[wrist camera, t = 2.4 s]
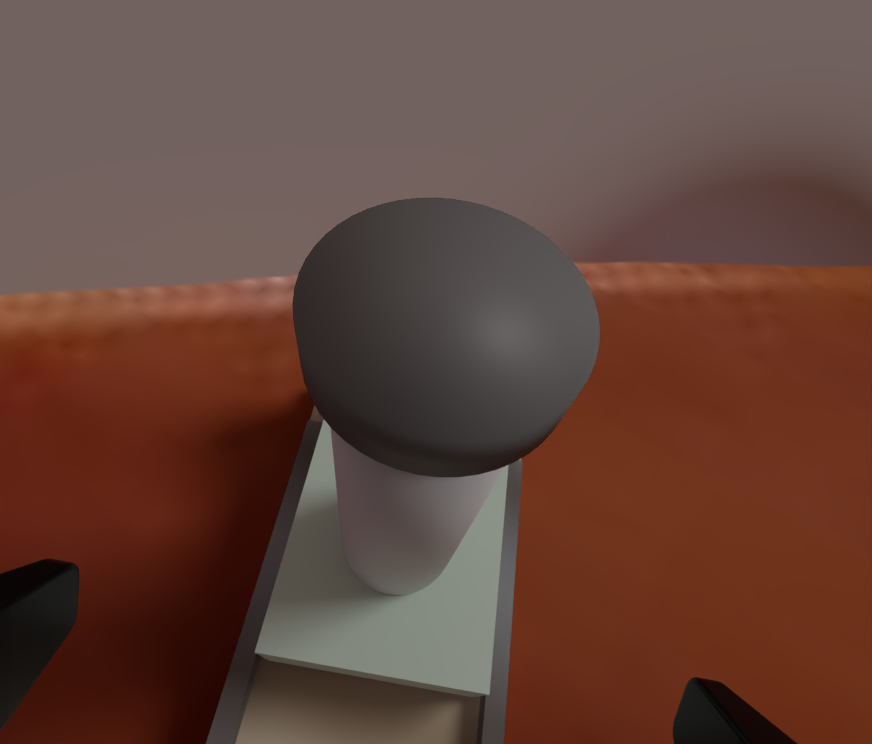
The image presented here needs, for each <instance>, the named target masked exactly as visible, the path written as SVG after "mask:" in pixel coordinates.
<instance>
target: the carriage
mask: <svg viewBox="0 0 872 744" xmlns="http://www.w3.org/2000/svg"><path fill="white" fill-rule="evenodd" d="M293 321H294V327H295V333H296V339H297V345H298V351H299V357H300V363H301V369H302V373H303V378H304V382H305V385H306V388H307V390H308V393H309V395H310V398H311V400H312V401H313V403H314V405H315V407H316V408H317V410H318V412H319V413H320V415H321V416H322V417H323V419H324V420H323V424H322V427H321V430H320V434H319V437H318V441H317V444H316V447H315V451H314V454H313V457H312V461H311V464H310V467H309V471H308V474H307V477H306V481H305V484H304V488H303V491H302V494H301V498H300V501H299V504H298V508H297V511H296V514H295V518H294V521H293V525H292V528H291V531H290V535H289V538H288V541H287V545H286V548H285V551H284V555H283V558H282V562H281V565H280V568H279V572H278V575H277V578H276V582H275V585H274V588H273V592H272V595H271V598H270V602H269V605H268V609H267V612H266V615H265V619H264V622H263V625H262V629H261V632H260V635H259V639H258V642H257V646H256V649H255V653H256V654H258V655H260V656H262V657H263V658H265V659H267V660H268V661H274V662H279V663H285V664H290V665H296V666H301V667H307V668H312V669H318V670H323V671H329V672H334V673H340V674H345V675H351V676H356V677H362V678H367V679H373V680H379V681H384V682H390V683H395V684H401V685H406V686H412V687H417V688H423V689H428V690H434V691H439V692H445V693H450V694H456V695H461V696H467V697H478V696H485V695H489V694H490V682H491V670H492V658H493V646H494V634H495V622H496V610H497V598H498V586H499V574H500V562H501V550H502V538H503V526H504V513H505V501H506V489H507V477H508V465H509V464H512V463H514V462H516V461H517V460H519V459H521V458H522V457H524V456H526V455H528V454H529V453H530V452H532V451H533V450H534V449H535V448H537V447H538V446H539V445H540V444H541V443H543V441H544V440H545V439H546V438H547V437H548V436H549V435H550V434H551V433H552V431H553V430H554V429H555V427H556V426H557V424H558V423H559V422H560V420H561V419H562V417H563V416H564V414H565V413H566V411H567V410H568V408H569V407H570V406H571V404H572V403H573V401H574V400H575V398H576V397H577V395H578V394H579V392H580V391H581V389H582V388H583V386H584V385H585V383H586V382H587V380H588V378H589V376H590V374H591V372H592V369H593V367H594V365H595V362H596V357H597V353H598V349H599V337H600V328H599V318H598V313H597V309H596V305H595V301H594V299H593V296H592V294H591V291H590V289H589V286H588V285H587V283H586V281H585V279H584V278H583V276H582V274H581V273H580V271H579V270H578V269H577V267H576V266H575V265H574V263H573V262H572V261H571V259H570V258H569V257H568V256H567V255H566V254H565V253H564V252H563V251H562V250H561V249H560V248H559V247H558V246H557V245H556V244H555V243H554V242H552V241H551V240H550V239H549V238H548V237H546V236H545V235H543V234H542V233H541V232H539V231H537V230H536V229H535V228H534V227H532V226H530V225H528V224H527V223H525V222H523V221H521V220H519V219H518V218H516V217H513V216H511V215H508V214H506V213H504V212H502V211H499V210H496V209H493V208H490V207H488V206H484V205H480V204H476V203H472V202H468V201H461V200H455V199H444V198H414V199H405V200H398V201H394V202H389V203H385V204H381V205H378V206H375V207H372V208H369V209H366V210H364V211H362V212H360V213H357V214H355V215H353V216H351V217H350V218H348V219H346V220H345V221H343V222H341V223H340V224H338V225H337V226H336V227H334V228H333V229H332V230H331V231H329V232H328V233H327V234H326V235H325V236H324V237H323V238H322V239H321V240H320V241H319V242H318V243H317V244H316V245H315V247H314V248H313V249H312V251H311V252H310V254H309V255H308V256H307V258H306V259H305V262H304V264H303V266H302V268H301V270H300V272H299V274H298V278H297V281H296V285H295V288H294V296H293Z"/></svg>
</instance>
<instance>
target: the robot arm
mask: <svg viewBox="0 0 872 744" xmlns="http://www.w3.org/2000/svg"><path fill="white" fill-rule="evenodd" d="M78 591H79V569H78V567H77V565H75V564H74V563H71V562H66V561H60V560H55V559H44V560H40V561H37V562H34V563H31V564H28V565H25V566H22V567H19V568H16V569H13V570H10V571H7V572H4V573H1V574H0V731H1V729H2V728H3V727H4V725H5V724H6V722H7V721H8V720H9V718H10V717H11V715H12V714H13V713H14V711H15V710H16V708H17V707H18V705H19V704H20V703H21V701H22V700H23V698H24V697H25V695H26V694H27V693H28V691H29V690H30V688H31V687H32V685H33V684H34V683H35V681H36V680H37V678H38V677H39V675H40V674H41V673H42V671H43V670H44V668H45V667H46V665H47V664H48V663H49V661H50V660H51V658H52V657H53V655H54V654H55V653H56V651H57V650H58V648H59V647H60V645H61V644H62V642H63V641H64V640H65V638H66V637H67V635H68V634H69V632H70V631H71V629H72V627H73V625H74V623H75V620H76V616H77V610H78ZM673 739H674V744H797V743H796V742H795V741H793V740H792V739H791V738H790V737H788V736H787V735H786V734H785V733H783V732H782V731H781V730H780V729H779V728H777V727H776V726H775V725H774V724H772V723H771V722H770V721H769V720H767V719H766V718H765V717H764V716H762V715H761V714H760V713H759V712H758V711H756V710H755V709H754V708H753V707H751V706H750V705H749V704H748V703H746V702H745V701H744V700H743V699H741V698H740V697H739V696H738V695H736V694H735V693H734V692H733V691H732V690H730V689H729V688H728V687H727V686H725V685H724V684H723V683H721V682H718V681H714V680H708V679H703V678H697V677H695V678H692V679H690V680H689V681H688V683H687V685H686V687H685V690H684V693H683V696H682V699H681V702H680V705H679V708H678V710H677V713H676V716H675V719H674V723H673Z"/></svg>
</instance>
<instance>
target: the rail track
mask: <svg viewBox="0 0 872 744" xmlns="http://www.w3.org/2000/svg"><path fill="white" fill-rule="evenodd" d="M322 424H323V422H319V417H318V410H317V408H316V407H315V405H314V408H313V411H312V415H311V418H310V420H308V421H307V424H306V428H305V431H304V434H303V437H302V440H301V443H300V447H299V450H298V453H297V456H296V459H295V462H294V466H293V469H292V472H291V475H290V478H289V481H288V485H287V488H286V491H285V494H284V497H283V500H282V504H281V507H280V510H279V513H278V516H277V519H276V523H275V526H274V529H273V532H272V535H271V539H270V542H269V545H268V548H267V551H266V554H265V558H264V561H263V564H262V567H261V570H260V573H259V577H258V580H257V583H256V586H255V589H254V592H253V596H252V599H251V602H250V605H249V608H248V611H247V615H246V618H245V621H244V624H243V627H242V630H241V634H240V637H239V640H238V643H237V646H236V649H235V653H234V656H233V659H232V662H231V665H230V669H229V672H228V675H227V678H226V681H225V684H224V688H223V691H222V694H221V697H220V700H219V703H218V707H217V710H216V713H215V716H214V719H213V722H212V726H211V729H210V732H209V735H208V738H207V741H206V744H503V743H504V729H505V714H506V699H507V685H508V670H509V655H510V640H511V626H512V611H513V596H514V582H515V567H516V552H517V538H518V523H519V508H520V494H521V479H522V464H523V460H521V459H519V460H517V461H516V462H514V463H512V464H509V465H508V477H507V489H506V501H505V513H504V526H503V538H502V550H501V562H500V574H499V586H498V598H497V610H496V622H495V634H494V646H493V658H492V670H491V682H490V694H489V695H485V696H478V697H467V696H461V695H456V694H450V693H445V692H439V691H434V690H428V689H423V688H417V687H412V686H406V685H401V684H395V683H390V682H384V681H379V680H373V679H367V678H362V677H356V676H351V675H345V674H340V673H334V672H329V671H323V670H318V669H312V668H307V667H301V666H296V665H290V664H285V663H279V662H274V661H268V660H267V659H265V658H263V657H262V656H260V655H258V654H256V653H255V649H256V646H257V642H258V639H259V635H260V632H261V629H262V625H263V622H264V619H265V615H266V612H267V609H268V605H269V602H270V598H271V595H272V592H273V588H274V585H275V582H276V578H277V575H278V572H279V568H280V565H281V562H282V558H283V555H284V551H285V548H286V545H287V541H288V538H289V535H290V531H291V528H292V525H293V521H294V518H295V514H296V511H297V508H298V504H299V501H300V498H301V494H302V491H303V488H304V484H305V481H306V477H307V474H308V471H309V467H310V464H311V461H312V457H313V454H314V451H315V447H316V444H317V441H318V437H319V434H320V430H321V427H322Z"/></svg>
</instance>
